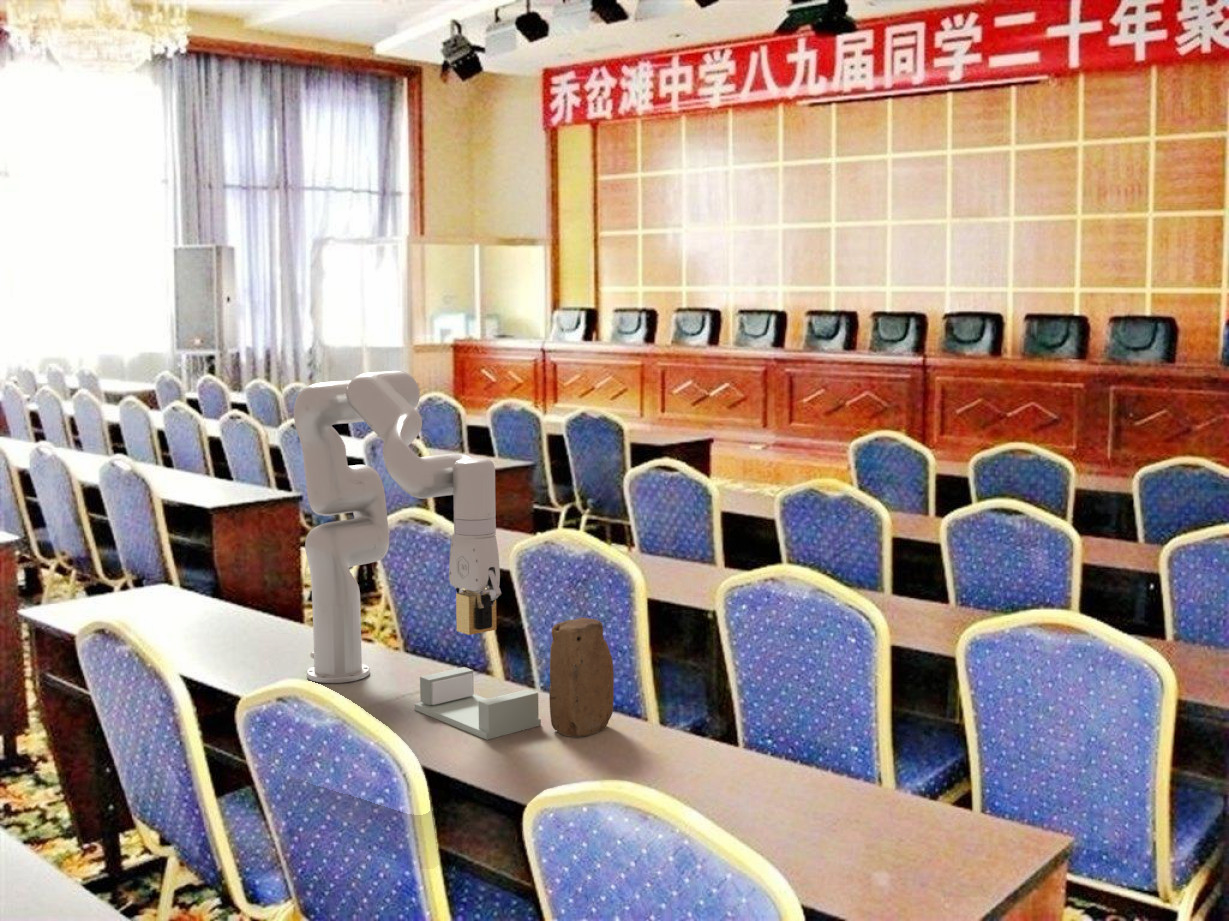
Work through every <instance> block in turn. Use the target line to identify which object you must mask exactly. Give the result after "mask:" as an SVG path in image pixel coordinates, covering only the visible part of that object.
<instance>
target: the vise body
mask: <svg viewBox="0 0 1229 921" xmlns="http://www.w3.org/2000/svg"><path fill="white" fill-rule="evenodd" d="M414 710H415V711H416V712H418V713H421V714H423V715H426V716H429V717H431V718H433V719H435V720H438V721H441V722H443V723H444V724H448V725H450V726H453V727H455V728H457V729H458V730H461V731H464V732H467V733H469V734H472V735H474V736H476V737H479V738H481V739H484V740H486V741H488V740H491V739H496V738H498V737H502V736H507V735H510V734H514V733H517V732H522V731H526V730H529V729H533V728H537V727H540V725H541V724H542V722H541V721H542V719H541V718H539V692H538V691H536V690H535V691H534V690H531V689H529V688H527V689H522V690H519V691H514V692H511V693H507V694H502V695H497V696H494V697H489V698H486V697H483V696H480V695H479V694H476V693H474V695H473V696H469V697H465V698H461V699H456V700H452V701H448V702H444V703H439V704H435V705H428V704H425V703H423V702H421V701H420V702H417V703H416V702H415V703H414ZM536 726H537V727H536ZM541 726H542V725H541ZM525 729H526V730H525ZM521 730H522V731H521Z"/></svg>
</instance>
